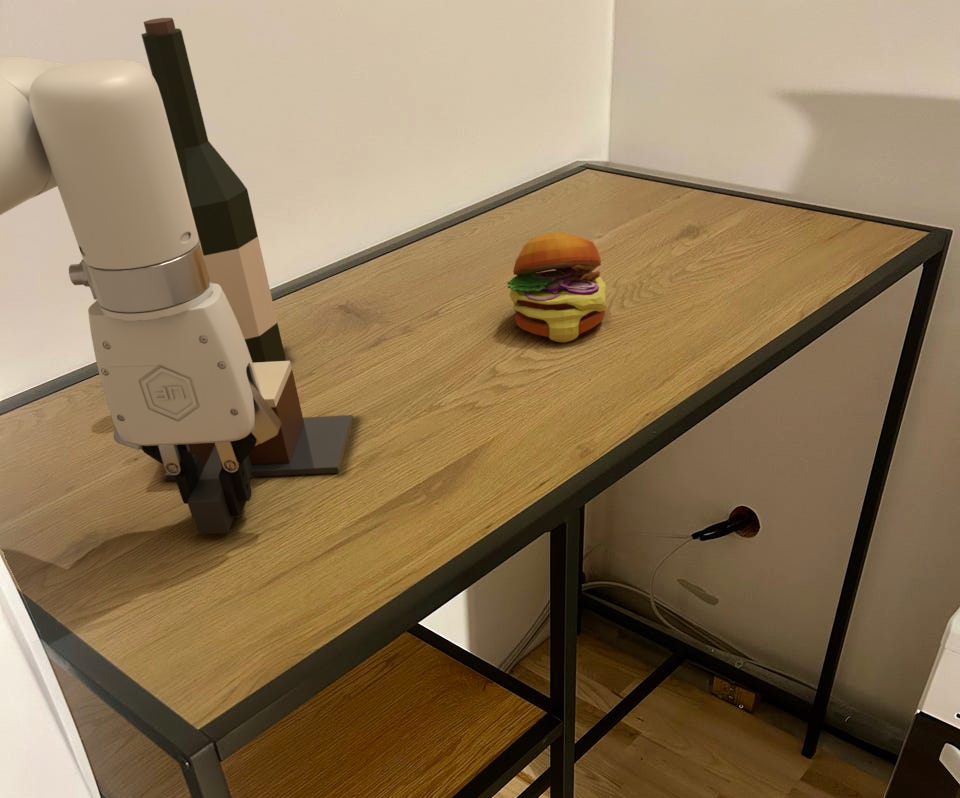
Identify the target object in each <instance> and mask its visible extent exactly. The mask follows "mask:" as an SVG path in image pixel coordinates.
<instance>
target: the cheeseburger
mask: <svg viewBox="0 0 960 798" xmlns="http://www.w3.org/2000/svg"><path fill="white" fill-rule="evenodd" d="M598 250H599V249H598V248H597V246H596V245H595V243H594V241H592V240H589V239H586V238H584V237H579V236H576V235H573V234H570V233H565V232H551V233H546V234H541V235H537V236H534V237H531V238H530V239H529V240H528V241H527V242H526V243H525V244H524V245H523V246H522V249H521V250H520V252H519V254H518V256H517V257H516V259H515V262H514V266H513V270H512V273H513V275H514V277H512V278H511V279H510V280H509V281H507V283H506V284H507V289H510V290H509V298H510V299H511V301H512V303H513V304H512V307H513V311H514V319H515V322H516V326H517V327H519V328H520V329H522V330H523V331H526V332H529V333H531V334H533V335H537V336H540V337H546V338H548V339H549V340H551V341H553V342H556V343H563V344H564V343H568V342H571V341H573V340H576V339H577V338H578V336H579V335H581V334H583V333H584V332H587V331H589V330H591V329H593V328H594V327H596V326H597V325H598V324H600V323H601V322H603V321H604V318H605V314H606V313H605V312H606V305H607V303H606V302H607V301H606V297H607V295H606V289H607V285H606V283H605V282H604V280H603V278H602V276H601V272H600V270H599V269H598V270H596V269H597V268H598V267H600V266H601V265H602V260H601V257H600V254H599V253H600V252H599V251H598ZM595 270H596V271H595Z"/></svg>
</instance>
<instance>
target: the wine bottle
mask: <svg viewBox="0 0 960 798" xmlns="http://www.w3.org/2000/svg"><path fill="white" fill-rule="evenodd" d="M143 25H144V29H145V32H144V33H141V38H142V43H143V46H144V49H145V53H146V57H147V61H148V64H149V69H150V73H151V74H152V76H153V77H154V79H155V81H156V83H157V85H158V88H159V91H160V94H161V97H162V100H163V104H164V108H165V112H166V115H167V119H168V123H169V127H170V130H171V134H172V138H173V142H174V146H175V149H176V153H177V157H178V161H179V164H180V168H181V172H182V176H183V179H184V183H185V187H186V191H187V195H188V198H189V202H190V206H191V210H192V214H193V217H194V221H195V225H196V229H197V233H198V237H199V240H200V244H201V248H202V252H203V255H204V259H205V263H206V267H207V270H208V274H209V278H210V281H211V283H216V284H219V285H220V287H221V288H222V290H223V292H224V294H225V296H226V298H227V300H228V302H229V304H230V306H231V308H232V310H233V313H234V315H235V317H236V319H237V322H238V324H239V326H240V329H241V332H242V334H243V337H244V339H245V342H246V345H247V348H248V351H249V354H250V356H251V359H252V363H257V362H275V361H287V358H286V355H285V350H284V345H283V341H282V337H281V331H280V327H279V323H278V319H277V314H276V311H275V306H274V301H273V298H272V297H273V296H272V293H271V289H270V284H269V280H268V279H269V278H268V275H267V271H266V266H265V261H264V257H263V253H262V248H261V244H260V240H259V235H258V231H257V226H256V221H255V217H254V213H253V209H252V205H251V200H250V196H249V190H248V188H247V187H246V186H245V184H244V183H243V181H242V180H241V178H239V176H238V175H237V174H236V172H235V171H234V170H233V169H232V168H231V166H230V165H229V164H228V163H227V161H226V160H225V159H224V158H223V157H222V156H221V154H220V153H219V152H218V150H217V149H216V148H215V146H213V144H212V143H211V142H210V140H209V138H208V133H207V130H206V126H205V121H204V117H203V114H202V109H201V105H200V101H199V96H198V93H197V89H196V84H195V81H194V75H193V72H192V68H191V64H190V61H189V56H188V51H187V48H186V44H185V40H184V34H183V31H182V29H180V28H176V25H175V21H174V18H173V17H160V18H159V17H158V18H152V19H149V20H144V21H143Z"/></svg>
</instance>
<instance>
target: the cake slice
mask: <svg viewBox="0 0 960 798" xmlns="http://www.w3.org/2000/svg"><path fill="white" fill-rule="evenodd" d="M253 366H254V369H255V372H256V375H257V379H258V382H259V386H260V391H261V396H262V397H263V398H264V400H265V401H266V402H267V403H268V405H269V406H270V407H271V409H272V410H273V411H274V413H275V414H276V415H277V416H278V418H279V419H280V421H281V427H280V429H279V432H278V434H277V435H276V436H275V437H273V438H271V439H269V440H267V441H265V442H263V443H261V444H258V445H256V446H255V447H254V448H253V450H252V451H251V452H250V453H249V458H250V462H251V465H256V464H277V463H290V460H291V457H292V454H293V451H294V449H295V446H296V443H297V440H298V438H299V435H300V432H301V429H302V426H303V424H304V420H303V418H304V416H303V412H302V407H301V402H300V398H299V393H298V388H297V385H296V379H295V375H294V371H293V367H292V362H291V360H286V361H275V362H257V363H253Z"/></svg>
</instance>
